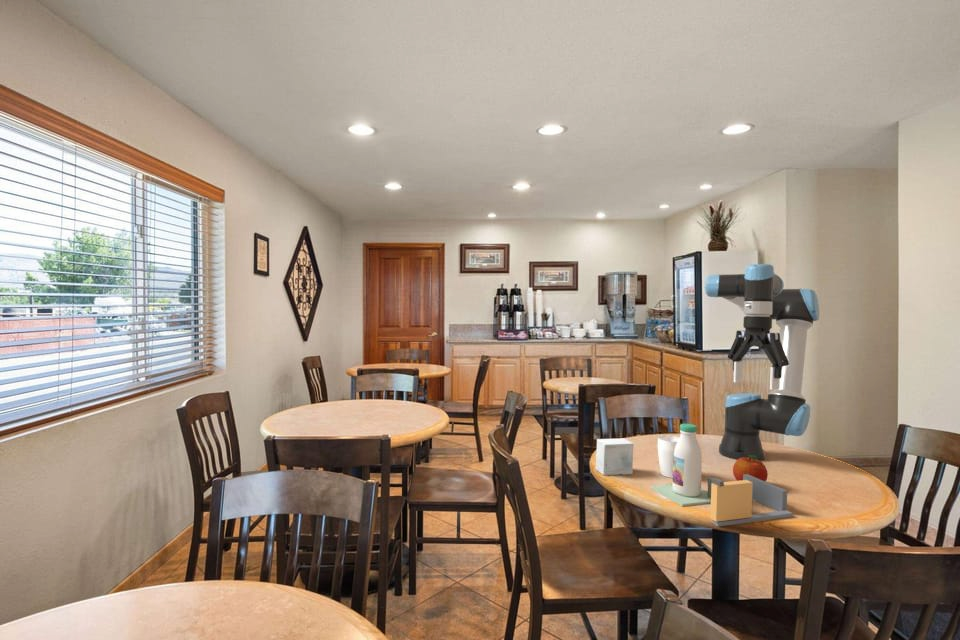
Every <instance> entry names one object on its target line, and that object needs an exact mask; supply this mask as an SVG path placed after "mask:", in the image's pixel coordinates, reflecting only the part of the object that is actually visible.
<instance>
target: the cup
mask: <svg viewBox="0 0 960 640" xmlns="http://www.w3.org/2000/svg"><path fill="white" fill-rule="evenodd" d="M679 438H680V436H678V435H668V434H666V435H665V434H663V435H659V436H658V437H657V455H658V463H659V471H660V475H661V476H663V477H666V478H669V479H673V457H674V449H675V446H676V444H677V442H678V440H679Z"/></svg>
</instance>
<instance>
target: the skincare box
mask: <svg viewBox="0 0 960 640" xmlns="http://www.w3.org/2000/svg"><path fill="white" fill-rule="evenodd" d="M595 457H596V458H595V470H596V471H597V472H599V473H600V474H601V475H603V476H619V474H623V475H633V465H634V464H633V462H634V443H633V442H632V441H630V440H628V439H627V438H623V437H621V438H598V439H596V456H595Z"/></svg>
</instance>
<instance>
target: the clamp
mask: <svg viewBox="0 0 960 640" xmlns="http://www.w3.org/2000/svg"><path fill="white" fill-rule="evenodd" d="M712 478H713V477H708V478H707V491H708V497H709V498H711V483H712ZM743 480H748V481H750V482H752V483H753V485H752V501H755V502H757V503H760V504H762V505H763V504H764V505H763V506H766V507H769V509H773V510H775V511H767V512H761V513H760V512H759V513H753V514H752V515H751V517H749V518H741V519H733V520H726V521H718V522H716V521H714V520H712V519H711V520H712V521H711V523H712V524H713V525H714V526H717V527H724V526H725V527H726V526H733V525H741V524H747V523H755V522H756V523H757V522H763V521H769V520H770V521H771V520H778V519H786V518H793V517H794V516H793V514H794V513H793V512H791V511H789V510H788V509H787V508H788V490H786V489H784V488H782V487H779V486H777V485H774V484H772V483H770V482H767V481H766V482H765V481H763V480H760V479H758V478H755V477H753V476H750V475H748V474H744V475H743Z"/></svg>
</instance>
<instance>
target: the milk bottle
mask: <svg viewBox="0 0 960 640" xmlns="http://www.w3.org/2000/svg"><path fill="white" fill-rule="evenodd" d="M697 431H698V426H697V425H695V424H691V423H680V425H679V432H680V435H679V437H680V438H679V440H678V442H677V444H676V446H675V449H674V457H673V478H672V484H673V491H674V492H675V493H677V494H679V495H683V496H688V497H696V496H699V495H700V493H701V488H702V468H703V467H702V466H703V465H702V464H703V463H702V462H703V460H702V459H703V458H702V457H703V455H702V451H701V448H700V445H699V443H698V440H697Z"/></svg>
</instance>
